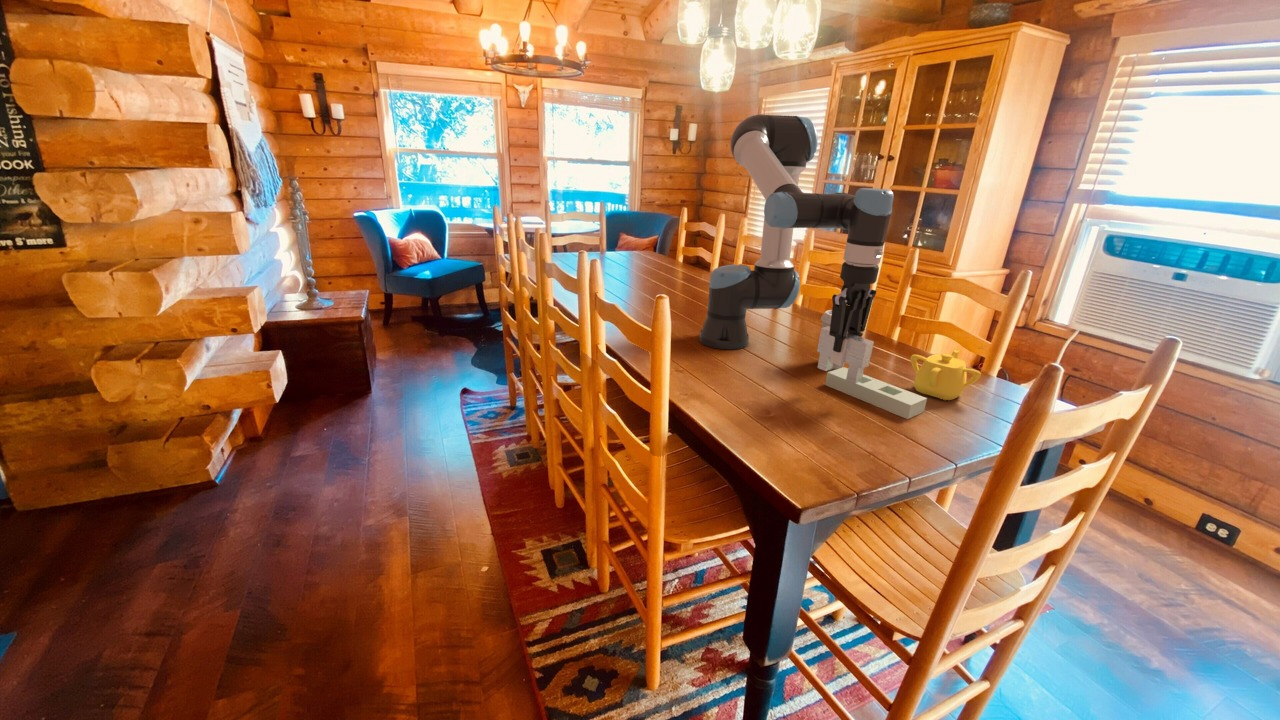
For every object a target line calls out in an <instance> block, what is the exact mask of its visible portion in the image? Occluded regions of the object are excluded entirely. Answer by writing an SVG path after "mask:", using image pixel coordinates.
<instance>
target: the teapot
mask: <svg viewBox="0 0 1280 720" xmlns="http://www.w3.org/2000/svg"><path fill="white" fill-rule="evenodd" d="M959 354H960V349H959V348H955V349H954V350H953V351H952V353H951V354H948V353H941V354H937V353H936V354H932V355H930V356H928V357H926V356H923V355H920V354H912V355H911V356H910V363H911V365H912V368H913V370H914V371H915V373H916V375H915V378H914V381H913V383H914V384H913V385H914V389H915V391H917V392H919V393H920V394H923V395H927V396H930V397H934V398H937V399H939V400H942V399H943V400H942V401H946V400H948V401H951V400H954V399H956V398H958V397H959V396H961V395H962V393H963V392H964V391H965V390H966V388H967V387H968V386H971V385H972V384H973V383H975V382H977V381H978V380H979V379H980V378H981V376H982V373H981V372H980V371H979V370H976V369H972V368H968V367H967V365H966V361H965V360H962V359H959V357H958V356H959ZM918 360H921V361H923V363H922V365H921V366H920V367H919V364H918ZM967 373H969V374H971V375H972V376H971V378H970V379H968V381H967V375H968V374H967Z"/></svg>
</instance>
